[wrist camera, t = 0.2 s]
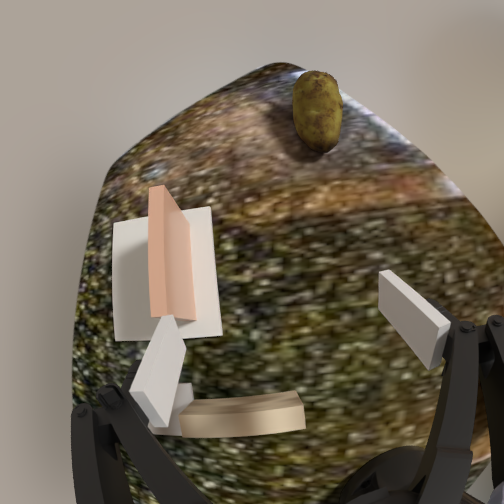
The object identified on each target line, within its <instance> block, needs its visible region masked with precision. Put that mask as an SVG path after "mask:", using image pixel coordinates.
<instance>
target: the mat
mask: <svg viewBox="0 0 504 504" xmlns="http://www.w3.org/2000/svg"><path fill="white" fill-rule="evenodd" d="M182 213H183V215H184V216H185V217H186V219H187V220H188V222H189V223H190V240H191V257H192V272H193V285H194V297H195V308H196V318H197V320H196V321H176V320H175V321H176V324H177V327H178V329H179V332H180V334H181V337H182V339H184V338H198V337H210V336H221V335H223V333H222V324H221V315H220V306H219V297H218V287H217V277H216V266H215V255H214V244H213V232H212V219H211V208H210V206H208V207H202V208H195V209H189V210H183V211H182ZM112 297H113V318H114V332H115V341H143V340H151V339H152V336H153V334H154V332H155V330H156V328H157V325H158V323H159V321H160V319H159V318H152V317H151V310H150V294H149V271H148V217H143V218H138V219H133V220H127V221H122V222H117V223H114V228H113V250H112Z"/></svg>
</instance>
